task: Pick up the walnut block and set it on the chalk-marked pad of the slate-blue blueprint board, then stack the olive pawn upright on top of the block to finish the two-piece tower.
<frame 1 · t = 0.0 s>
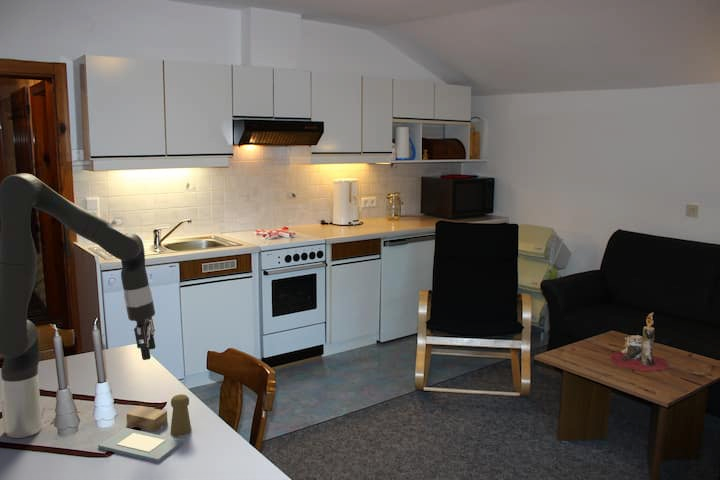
hand: (149, 353, 183), 22 cm above the table, tool pointing down, fingers open, 8 cm apart
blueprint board: (141, 446, 175), on the table
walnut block: (147, 424, 188), on the table
olive pawn: (181, 431, 184), on the table
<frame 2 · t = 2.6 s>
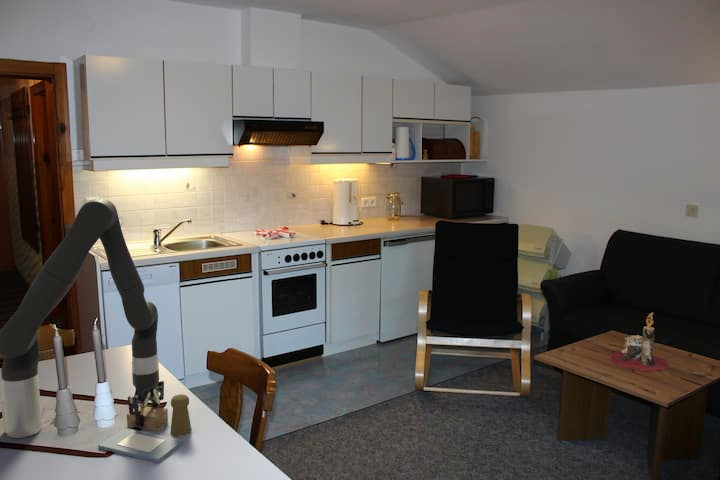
hand: (147, 420, 187), 1 cm above the table, tool pointing down, fingers closed on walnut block, 6 cm apart
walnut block: (147, 423, 188), on the table, touching gripper
everything else where it was.
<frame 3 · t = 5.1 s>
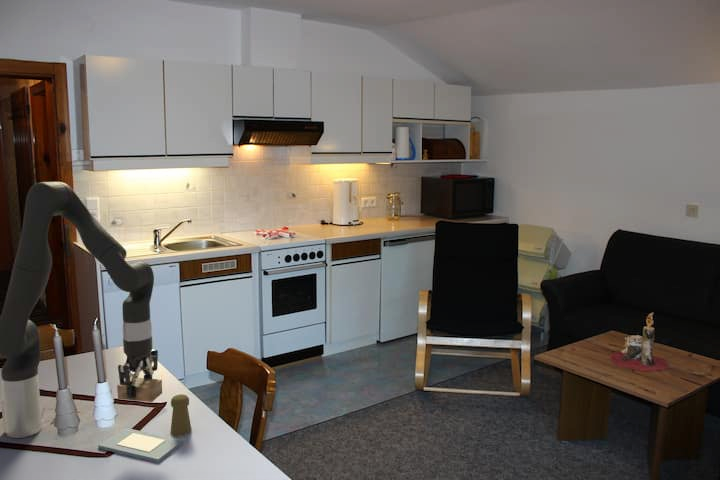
hand: (140, 392, 172), 16 cm above the table, tool pointing down, fingers closed on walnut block, 6 cm apart
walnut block: (140, 396, 173), point 15 cm above the table, touching gripper
everything else where it was.
when the fingers open (3 cm above the table, at t = 7.7 s): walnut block stays where it is, resting on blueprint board.
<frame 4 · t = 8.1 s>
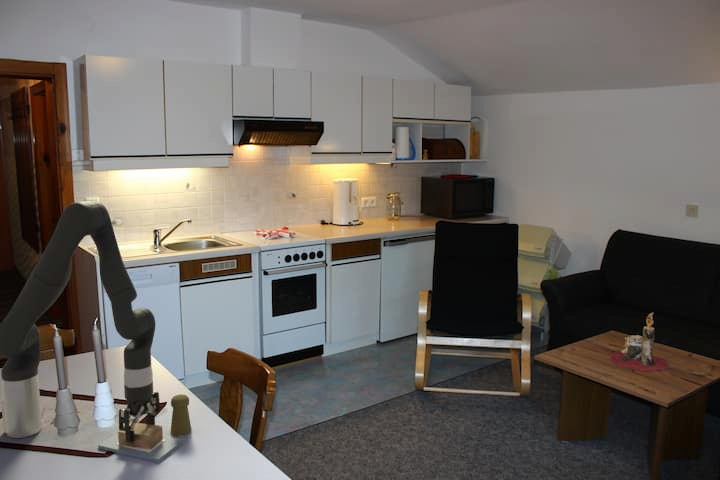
hand: (140, 435, 174), 3 cm above the table, tool pointing down, fingers open, 8 cm apart
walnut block: (141, 442, 174), point 1 cm above the table, touching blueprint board
everything else where it was.
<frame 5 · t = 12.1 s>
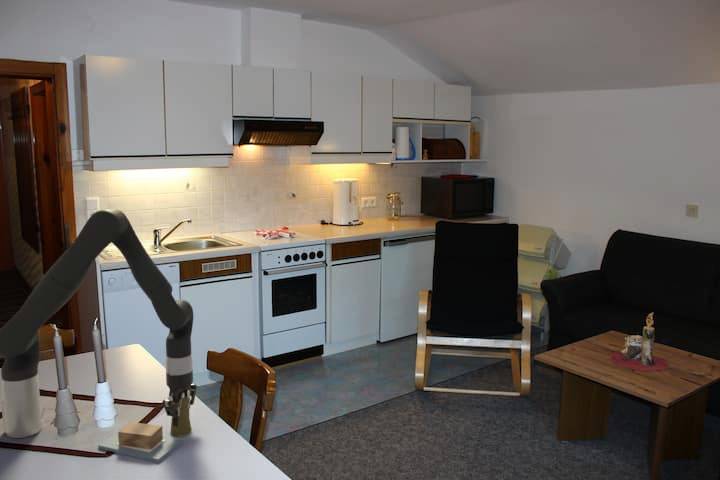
hand: (181, 423, 183), 2 cm above the table, tool pointing down, fingers closed on olive pawn, 3 cm apart
olive pawn: (180, 431, 184), on the table, touching gripper
everything else where it was.
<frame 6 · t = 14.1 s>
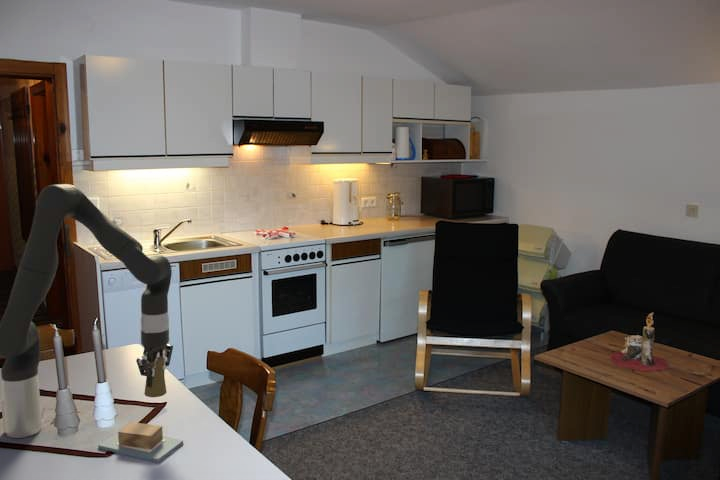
hand: (155, 385, 176), 16 cm above the table, tool pointing down, fingers closed on olive pawn, 3 cm apart
olive pawn: (155, 393, 176), point 14 cm above the table, touching gripper
everything else where it was.
when the fingers open (9 cm above the table, at t = 16.4 s): olive pawn drops 1 cm, resting on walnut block.
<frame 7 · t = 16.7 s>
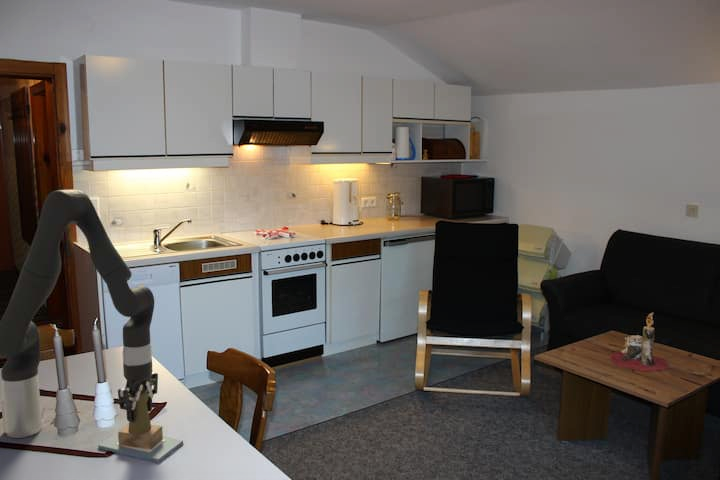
hand: (139, 415, 173), 9 cm above the table, tool pointing down, fingers open, 6 cm apart
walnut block: (141, 442, 174), point 1 cm above the table, touching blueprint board, olive pawn
olive pawn: (139, 429, 174), point 5 cm above the table, touching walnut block
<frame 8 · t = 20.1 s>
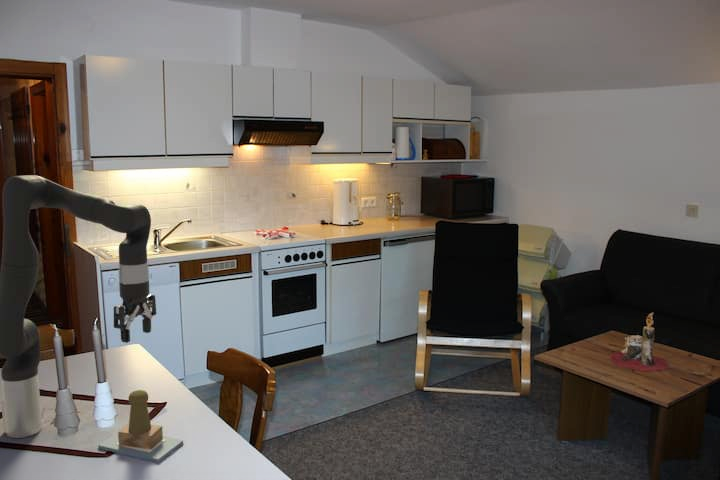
hand: (136, 337, 169), 32 cm above the table, tool pointing down, fingers open, 8 cm apart
nothing on the table moved.
at the end: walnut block 0.1 cm off-centre on the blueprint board, point 1.2 cm above the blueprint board's base; olive pawn 0.1 cm off-centre on the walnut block, point 3.8 cm above the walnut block's base; olive pawn tilted 0° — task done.
